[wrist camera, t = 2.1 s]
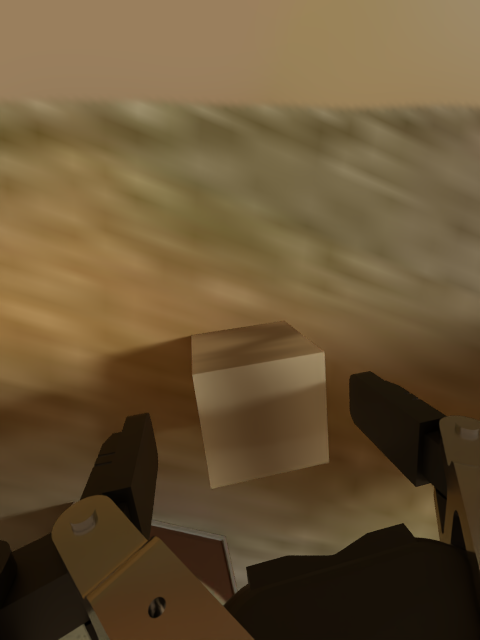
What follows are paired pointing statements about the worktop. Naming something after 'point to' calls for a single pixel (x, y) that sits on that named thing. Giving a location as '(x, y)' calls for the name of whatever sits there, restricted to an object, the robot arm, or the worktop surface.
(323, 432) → the birch cube
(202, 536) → the food container
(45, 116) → the worktop surface
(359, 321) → the worktop surface
